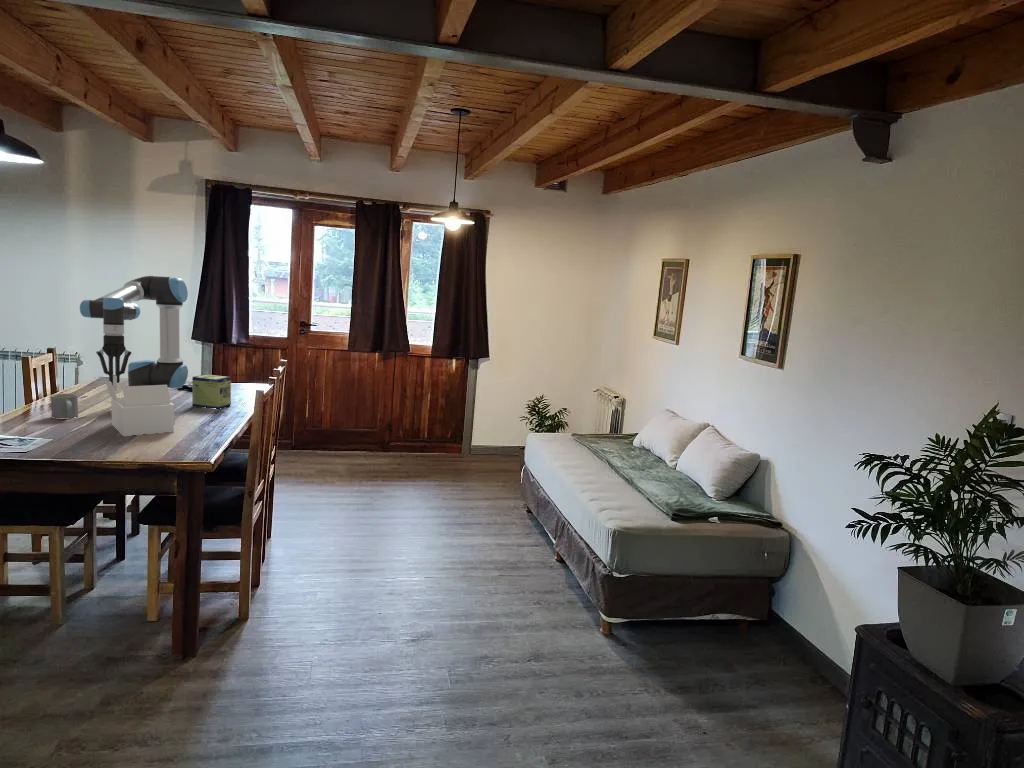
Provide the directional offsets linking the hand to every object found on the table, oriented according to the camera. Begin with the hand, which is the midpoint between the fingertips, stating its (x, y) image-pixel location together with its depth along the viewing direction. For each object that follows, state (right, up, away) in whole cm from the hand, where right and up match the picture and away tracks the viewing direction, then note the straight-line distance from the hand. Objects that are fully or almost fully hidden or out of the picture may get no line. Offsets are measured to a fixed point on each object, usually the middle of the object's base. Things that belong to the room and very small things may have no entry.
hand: (114, 390), depth 288 cm
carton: (+8, -17, +8) cm, 20 cm away
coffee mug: (-33, -13, +18) cm, 40 cm away
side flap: (-1, -4, +1) cm, 4 cm away
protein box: (+14, -9, +62) cm, 65 cm away
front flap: (+16, -6, -3) cm, 17 cm away
